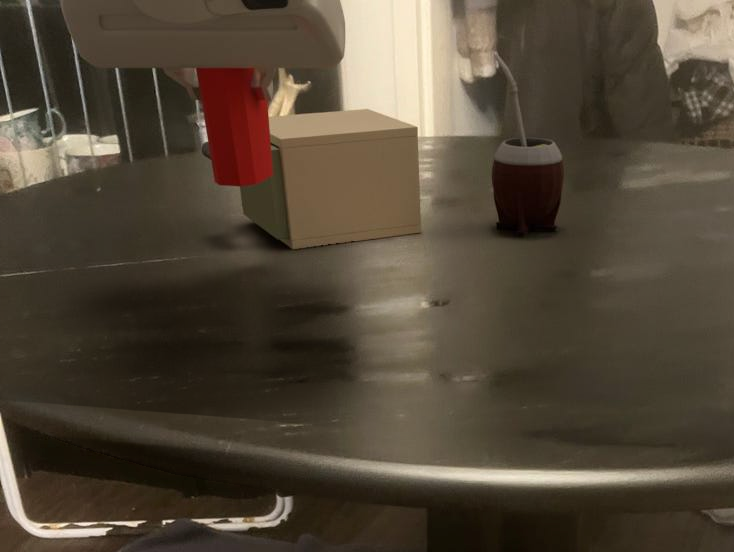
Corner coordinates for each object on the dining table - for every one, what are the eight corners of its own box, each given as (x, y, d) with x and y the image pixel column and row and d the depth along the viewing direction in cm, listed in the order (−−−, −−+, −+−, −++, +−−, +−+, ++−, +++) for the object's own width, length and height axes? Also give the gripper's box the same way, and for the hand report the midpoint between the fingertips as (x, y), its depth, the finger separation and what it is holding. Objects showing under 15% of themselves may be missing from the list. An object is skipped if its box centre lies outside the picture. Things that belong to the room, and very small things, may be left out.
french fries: (240, 167, 87) (221, 7, 80) (283, 170, 86) (267, 8, 79) (201, 188, 80) (176, 14, 73) (247, 190, 79) (226, 16, 72)
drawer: (237, 245, 92) (224, 153, 87) (206, 218, 100) (192, 134, 95) (397, 224, 98) (393, 138, 93) (355, 201, 106) (349, 121, 101)
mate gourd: (553, 239, 96) (560, 64, 87) (476, 235, 98) (475, 61, 89) (567, 221, 102) (575, 55, 93) (493, 217, 104) (494, 53, 95)
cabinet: (292, 249, 94) (280, 138, 88) (254, 221, 103) (240, 118, 97) (421, 232, 99) (417, 126, 93) (373, 206, 108) (367, 108, 102)
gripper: (22, -10, 66) (105, 127, 80) (323, -11, 65) (354, 128, 79) (30, -92, 67) (110, 58, 81) (327, -93, 66) (357, 58, 80)
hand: (233, 93), depth 80 cm, fingers closed on french fries, 4 cm apart
